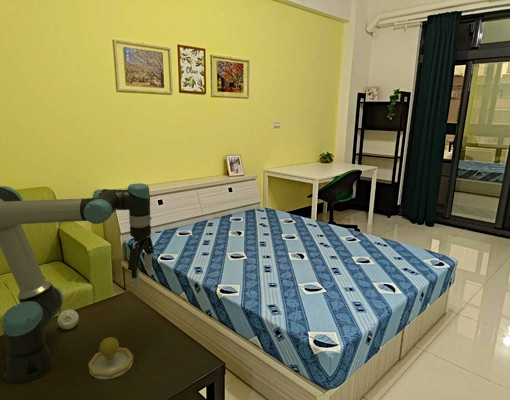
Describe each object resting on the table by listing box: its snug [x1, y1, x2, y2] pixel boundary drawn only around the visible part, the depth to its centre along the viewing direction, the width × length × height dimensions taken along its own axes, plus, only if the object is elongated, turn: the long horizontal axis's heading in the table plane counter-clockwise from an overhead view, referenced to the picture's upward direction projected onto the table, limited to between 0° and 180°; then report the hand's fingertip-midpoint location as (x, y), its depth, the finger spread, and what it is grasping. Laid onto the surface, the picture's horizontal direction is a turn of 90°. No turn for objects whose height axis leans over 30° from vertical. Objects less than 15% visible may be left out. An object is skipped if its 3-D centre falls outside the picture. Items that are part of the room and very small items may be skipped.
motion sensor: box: [57, 309, 80, 330], centre depth 151 cm, size 8×8×8 cm
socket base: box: [87, 346, 134, 380], centre depth 131 cm, size 15×15×2 cm
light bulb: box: [98, 336, 120, 365], centre depth 130 cm, size 7×7×10 cm
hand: (142, 276), depth 139 cm, fingers open, 13 cm apart
